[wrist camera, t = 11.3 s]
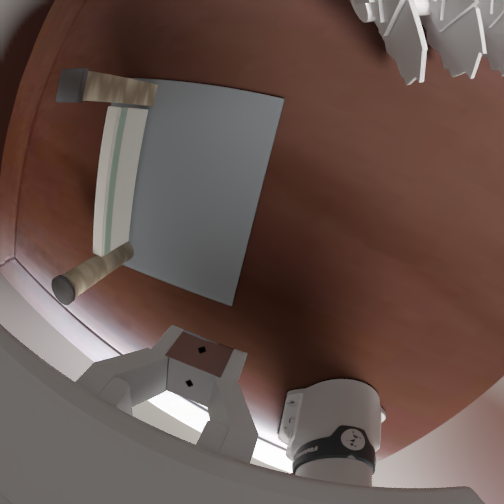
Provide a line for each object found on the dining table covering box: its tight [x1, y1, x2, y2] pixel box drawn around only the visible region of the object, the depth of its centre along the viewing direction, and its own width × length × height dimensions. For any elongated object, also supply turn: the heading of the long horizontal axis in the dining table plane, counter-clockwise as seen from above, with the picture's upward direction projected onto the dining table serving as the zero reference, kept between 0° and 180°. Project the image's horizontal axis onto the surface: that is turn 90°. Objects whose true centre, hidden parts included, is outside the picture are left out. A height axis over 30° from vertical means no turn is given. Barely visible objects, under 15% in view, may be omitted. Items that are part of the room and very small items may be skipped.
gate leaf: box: [93, 106, 148, 257], centre depth 35 cm, size 19×2×6 cm, turn 165°
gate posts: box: [52, 68, 158, 305], centre depth 32 cm, size 26×4×15 cm, turn 166°
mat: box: [111, 78, 285, 306], centre depth 38 cm, size 28×24×1 cm
